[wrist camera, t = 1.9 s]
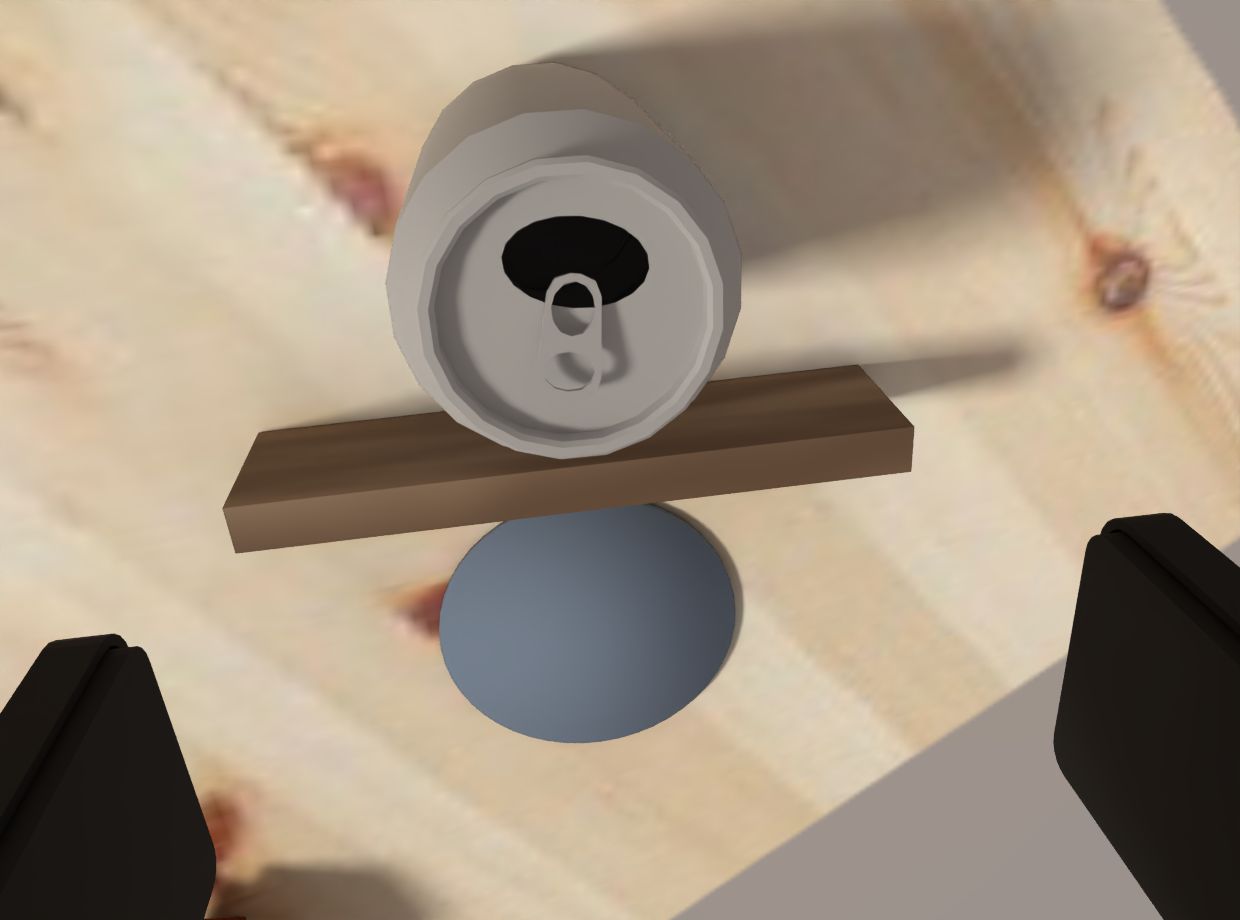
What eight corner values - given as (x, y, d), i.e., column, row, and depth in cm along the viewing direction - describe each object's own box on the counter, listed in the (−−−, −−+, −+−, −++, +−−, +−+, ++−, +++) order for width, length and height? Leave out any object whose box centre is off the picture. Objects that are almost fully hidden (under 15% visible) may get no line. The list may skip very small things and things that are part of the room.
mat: (417, 515, 35) (416, 519, 34) (730, 477, 35) (731, 481, 35) (462, 755, 40) (462, 760, 39) (736, 717, 40) (737, 722, 40)
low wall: (258, 432, 32) (222, 508, 28) (858, 364, 34) (914, 426, 29) (269, 473, 33) (235, 553, 29) (857, 405, 35) (911, 471, 30)
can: (681, 72, 29) (794, 140, 18) (651, 319, 32) (731, 498, 22) (419, 45, 28) (376, 101, 17) (414, 304, 31) (377, 485, 21)
